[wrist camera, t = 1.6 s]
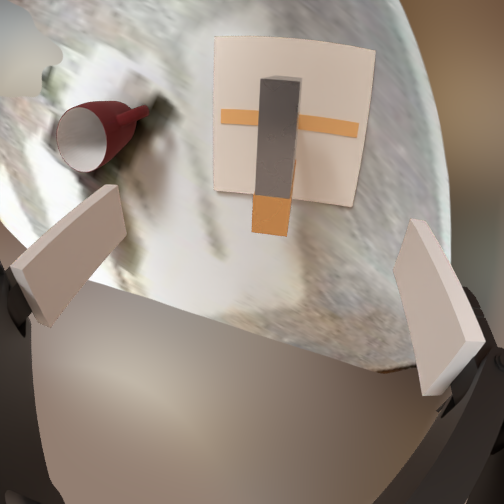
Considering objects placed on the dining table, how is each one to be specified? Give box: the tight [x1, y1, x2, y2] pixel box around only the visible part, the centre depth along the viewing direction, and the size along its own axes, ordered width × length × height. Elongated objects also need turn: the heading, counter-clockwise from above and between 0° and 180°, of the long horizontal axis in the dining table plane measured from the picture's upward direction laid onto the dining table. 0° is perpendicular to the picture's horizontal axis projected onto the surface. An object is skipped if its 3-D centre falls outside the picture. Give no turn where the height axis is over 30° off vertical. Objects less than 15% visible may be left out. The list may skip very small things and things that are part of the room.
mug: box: [57, 101, 149, 173], centre depth 32 cm, size 11×8×10 cm
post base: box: [213, 36, 376, 207], centre depth 30 cm, size 20×18×8 cm
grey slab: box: [252, 75, 302, 237], centre depth 23 cm, size 11×3×9 cm, turn 178°
